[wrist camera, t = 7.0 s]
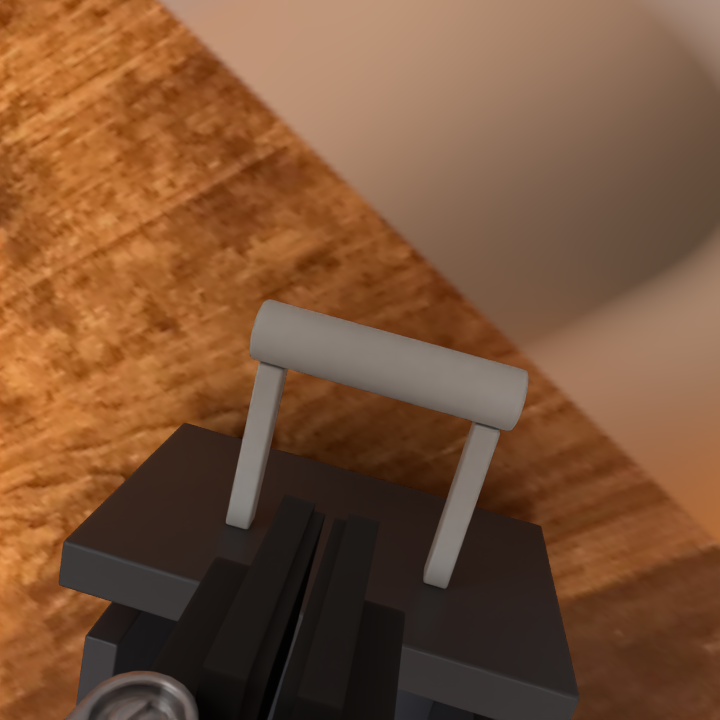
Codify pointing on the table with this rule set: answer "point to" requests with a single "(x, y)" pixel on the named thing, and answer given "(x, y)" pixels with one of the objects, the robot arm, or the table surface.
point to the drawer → (337, 499)
